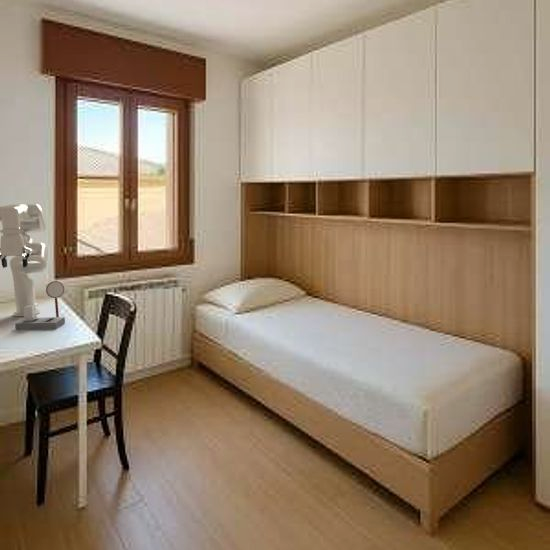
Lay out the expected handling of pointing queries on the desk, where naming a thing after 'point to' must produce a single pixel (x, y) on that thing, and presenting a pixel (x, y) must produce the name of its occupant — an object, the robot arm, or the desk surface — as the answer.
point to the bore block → (41, 323)
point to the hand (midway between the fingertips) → (15, 267)
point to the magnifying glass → (55, 292)
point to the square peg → (30, 313)
